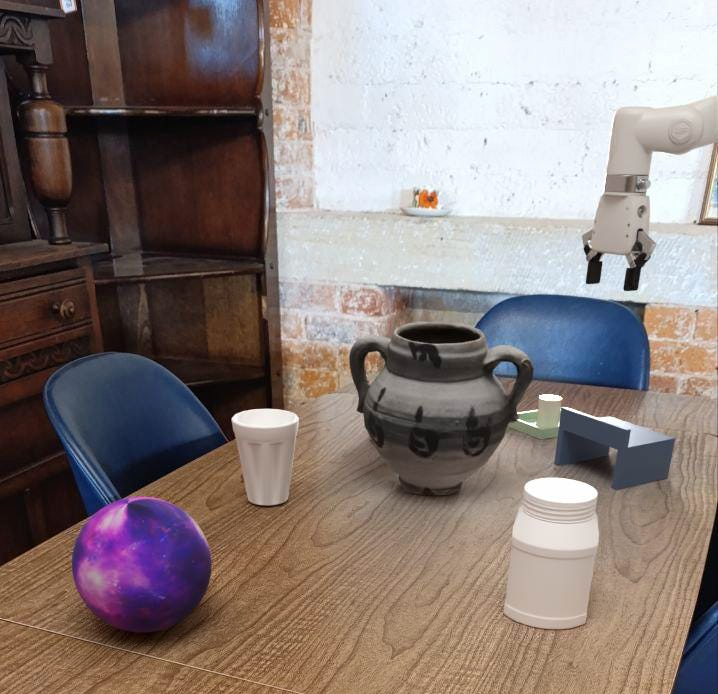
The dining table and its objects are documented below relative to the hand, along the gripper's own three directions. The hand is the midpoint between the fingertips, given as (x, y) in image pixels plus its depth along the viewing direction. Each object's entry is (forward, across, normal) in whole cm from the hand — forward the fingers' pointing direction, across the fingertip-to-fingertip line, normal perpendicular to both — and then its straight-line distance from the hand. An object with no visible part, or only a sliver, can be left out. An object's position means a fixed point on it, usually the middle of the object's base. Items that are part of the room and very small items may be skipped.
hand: (611, 287), depth 165 cm
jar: (+26, -56, +62) cm, 88 cm away
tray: (+26, +2, +10) cm, 28 cm away
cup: (+26, -8, +76) cm, 81 cm away
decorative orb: (+26, -37, +105) cm, 114 cm away
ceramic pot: (+26, -15, +50) cm, 58 cm away
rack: (+26, -23, +18) cm, 39 cm away
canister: (+26, +2, +10) cm, 28 cm away
